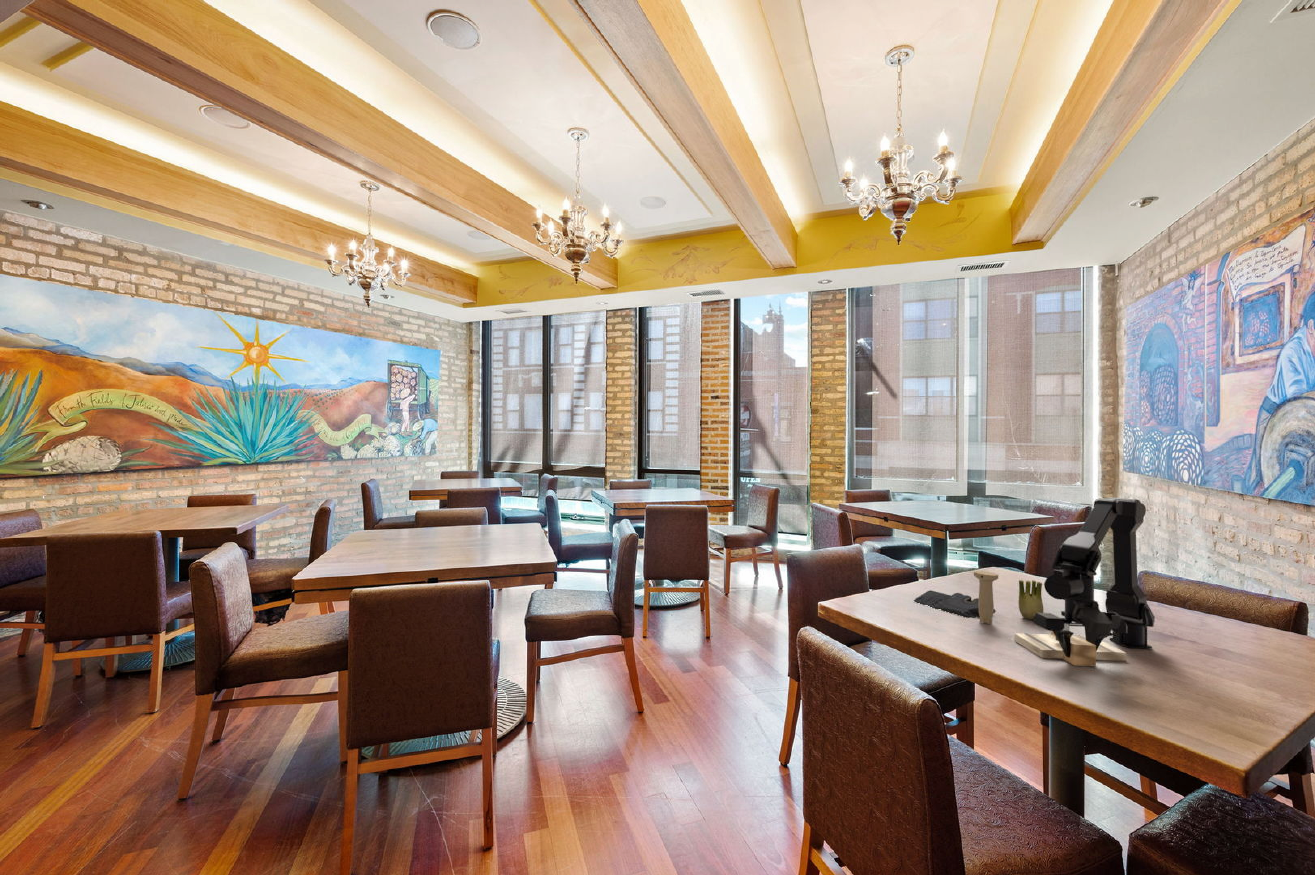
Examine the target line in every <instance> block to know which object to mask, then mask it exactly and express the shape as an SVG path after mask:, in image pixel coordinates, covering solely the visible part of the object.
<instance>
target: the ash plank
mask: <svg viewBox="0 0 1315 875" xmlns="http://www.w3.org/2000/svg"><path fill="white" fill-rule="evenodd" d="M1072 637H1074V638H1076V639H1078V640H1086V637H1085V635H1081V634H1078V635H1076V634H1073V635H1072ZM1014 642H1016V643H1018V644H1019V645H1021V646H1023V647H1024V648H1025V649H1027V650H1029V651H1030V652H1031V653H1033V654H1035V655H1037V656H1038V657H1040V658H1042V659H1063V650H1062V647H1061V645H1060V643H1059V641H1056V637H1055V636H1054V635H1052V634H1047V633H1045V634H1044V633H1042V634H1041V633H1027V632H1024V633H1017V632H1016V633H1014ZM1097 660H1098V661H1125V662H1126V661H1127V653H1126V652H1125V651H1123V650H1121V649H1119V648H1117V647H1115V646H1113V645H1111V644H1109V643H1107V642H1105V641H1103V640H1102V642H1101V643H1100V645H1099V647H1098V649H1097V651H1096V661H1097Z"/></svg>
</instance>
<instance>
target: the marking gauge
mask: <svg viewBox="0 0 1315 875" xmlns="http://www.w3.org/2000/svg"><path fill="white" fill-rule="evenodd" d="M1050 633H1051V635H1054V636H1055V634H1054V632H1053V631H1050ZM1055 637H1056V636H1055ZM1070 640H1071V654H1070V658H1068V657H1066V656H1065V654H1064V652H1063V658H1062V659H1063V660H1064V661H1066V662H1068V663H1069V664H1071V665H1073V666H1082V667H1083V666H1084V667H1087V666H1088V667H1097V660H1096V645H1094V644H1092V643H1090V642H1088V641H1086V640H1078V639H1076V638H1074V637H1072V636H1071V638H1070ZM1056 641H1058V639H1057V637H1056Z"/></svg>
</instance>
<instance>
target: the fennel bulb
mask: <svg viewBox="0 0 1315 875" xmlns="http://www.w3.org/2000/svg"><path fill="white" fill-rule="evenodd" d="M1042 587H1043V583H1042V582H1041V581H1036V580H1026V581H1025V583H1024V580H1023V579H1020V580H1019V581H1018V588H1019V589H1018V609H1019V613H1020V615H1021V617H1023V618H1024V619H1026V620H1029V621H1033V617H1034V615H1035V614H1036V613H1044V605H1043V604H1044V603H1043V598H1042V590H1043V589H1042Z"/></svg>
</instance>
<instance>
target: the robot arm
mask: <svg viewBox="0 0 1315 875" xmlns="http://www.w3.org/2000/svg"><path fill="white" fill-rule="evenodd" d="M1146 512H1147V508H1146V506H1145V504H1144V503H1143V502H1141V500H1139V499H1136V498H1123V497H1111V496H1109V497H1108V498H1104V497H1103V498H1102V497H1101V498H1097V499H1094V502H1093V508H1092V510H1091V511H1090V513H1089V514H1088V517H1086V519H1085V521H1084V523H1083V525H1081V528H1080V529H1079V530H1078V533H1076V534H1074V535H1071V536H1069V537H1067V539H1066V540H1065V541H1064V542H1063V543H1062V544H1061V546H1060V547H1059V548H1058V551H1057V553H1056V556H1055V559H1054V561H1053V564H1052V570H1053V574H1051V575H1049V576H1048V577H1047V578H1046V579H1045V581H1044V583H1043V585H1044V589H1045V591H1046V593H1047V594H1048V595H1049V596H1050V597H1052V598H1053V599H1055V600H1063V601H1064V611H1063V610H1062V611H1060V612H1061V614H1060V615H1061V617H1059V616H1057V615H1055V614H1053V613H1050V612H1043V613H1036V614H1035V615H1034V617H1033V620H1032V621H1033V624H1034V625H1036V626H1038V627H1040V628H1042V629H1044V630H1046V631H1050V632H1051V631H1053V632H1054V634H1055V636H1056V637H1057V639H1058V641H1059V643H1060V645H1061V647H1062V650H1063V652H1064V654H1065V656H1066V657H1068V658H1070V654H1071V640H1070V638H1071V636H1072V635H1075V634H1074V632H1072V631H1070V627H1081V628H1082V627H1083V628H1084V636H1085V637H1086V641H1088V642H1090V643H1092V644H1094V645H1096V651H1097V649H1098V647H1099V645H1100V643H1101V642H1102V641H1103V640H1104V639H1106V638H1108V637H1109V640H1110V641H1112V642H1113V643H1116V644H1119V645H1121V646H1122V647H1125V648H1127V649H1128V648H1129V649H1149V648H1150V649H1153V646H1152V645H1149V644H1148V627H1150V628H1153V627H1155V625H1154V624H1155V615H1154V613H1153V611H1152V610H1151V607H1150V605H1149V604H1148V601H1147V595H1146V594H1145V592H1143V589H1142V588H1141V587H1140V586H1139V583H1138V557H1137V556H1138V554H1137V552H1138V551H1137V531H1138V529H1139V528H1140V527H1141V526H1142V524H1144V519H1145V518H1144V517H1145V516H1146V514H1147V513H1146ZM1109 530H1111V531H1112V548H1113V549H1112V550H1113V554H1112V555H1113V574H1114V575H1113V576H1114V581H1113V582H1114V584H1113V585H1112V586H1111V588H1109V590H1107V591H1106V593H1105V595H1106V599H1105V600H1104V601H1105V602H1104V603H1105V609H1106V611H1101V610H1100V605H1099V601H1096V600H1095V576H1097V572H1096V571H1097V569H1098V567H1099V565H1100V563H1101V561H1102V551H1101V549H1100V546H1101V544H1102V542H1103V540H1104V538H1105V537H1106V535H1107V533H1108V531H1109ZM1062 616H1063V617H1062ZM1150 649H1149V650H1150Z"/></svg>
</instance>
